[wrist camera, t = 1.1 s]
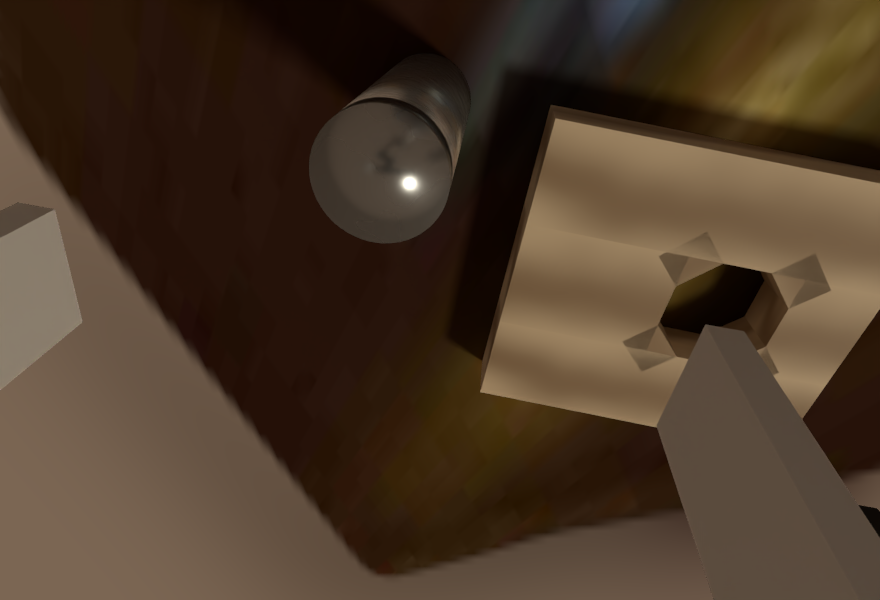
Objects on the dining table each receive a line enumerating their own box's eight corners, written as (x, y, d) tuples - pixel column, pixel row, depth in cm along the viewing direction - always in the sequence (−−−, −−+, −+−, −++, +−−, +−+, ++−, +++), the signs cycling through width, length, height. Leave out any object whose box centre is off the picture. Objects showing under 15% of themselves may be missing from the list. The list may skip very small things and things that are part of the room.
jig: (550, 104, 27) (555, 118, 24) (913, 177, 27) (956, 199, 24) (482, 361, 35) (480, 392, 32) (758, 416, 35) (778, 451, 32)
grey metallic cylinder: (388, 44, 26) (312, 89, 16) (479, 62, 26) (462, 120, 16) (378, 136, 28) (306, 228, 18) (461, 153, 28) (437, 255, 18)
